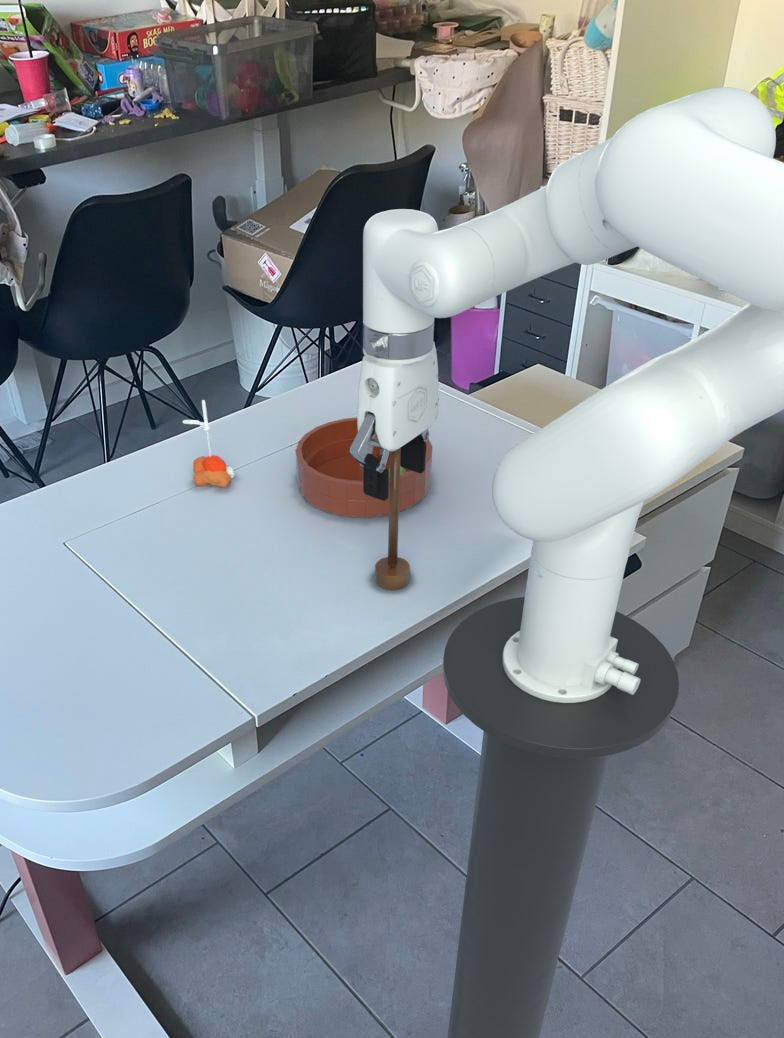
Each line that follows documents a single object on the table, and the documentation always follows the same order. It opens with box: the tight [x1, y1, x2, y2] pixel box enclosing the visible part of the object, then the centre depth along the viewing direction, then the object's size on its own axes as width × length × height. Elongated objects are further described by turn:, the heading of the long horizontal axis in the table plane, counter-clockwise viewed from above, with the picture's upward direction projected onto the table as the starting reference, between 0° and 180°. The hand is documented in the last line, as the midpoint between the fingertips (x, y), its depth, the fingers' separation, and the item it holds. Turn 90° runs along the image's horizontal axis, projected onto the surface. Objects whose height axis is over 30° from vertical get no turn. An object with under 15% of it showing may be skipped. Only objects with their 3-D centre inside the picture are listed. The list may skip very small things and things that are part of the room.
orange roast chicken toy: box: [182, 399, 236, 489], centre depth 139 cm, size 6×10×12 cm, turn 38°
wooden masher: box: [374, 448, 411, 591], centre depth 115 cm, size 4×4×19 cm
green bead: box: [389, 466, 406, 478], centre depth 137 cm, size 3×3×3 cm
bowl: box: [295, 417, 433, 518], centre depth 137 cm, size 20×20×6 cm
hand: (394, 481), depth 112 cm, fingers open, 6 cm apart
